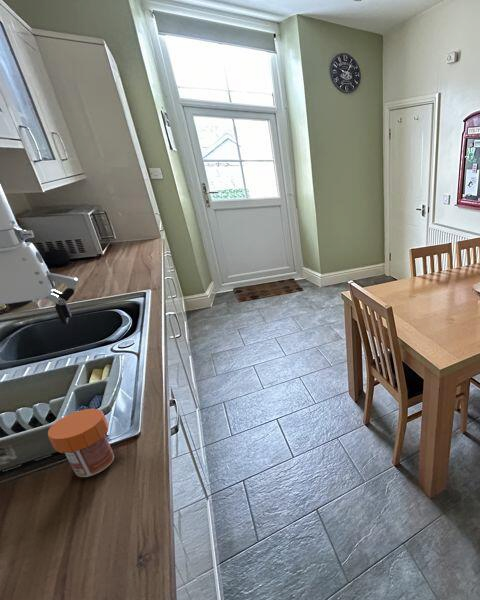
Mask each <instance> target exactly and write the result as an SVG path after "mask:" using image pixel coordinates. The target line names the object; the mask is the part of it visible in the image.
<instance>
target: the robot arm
mask: <svg viewBox="0 0 480 600" xmlns="http://www.w3.org/2000/svg"><path fill="white" fill-rule="evenodd" d="M32 238H33V239H34V238H35V234H34V232H33V230H32V229H23V228H21V226H20V225H18V223H17V219H16V217H15V215H14V213H13V210H12V208H11V205H10V203H9V202H8V199H7V196H6V193H5V192H4V189H3V187H2V184H1V183H0V306H2V305H8V304H9V305H10V304H15V303H17V304H18V303H23V302H29V301H35V300H41V299H46V300H48V301H51V302H53V303H54V304H55V306H54V308H55V311H56V313H57V316H58V318H59V320H60V323H61V324H62V325H67V324H68V323H69V320H70V318H72V316H73V315H72V312H71V310H70V308H69V305H68V301H69V300H70V298H71V297H72V296H73V295H74V294H75V291H76V288H77V286H78V282H79V279H78V278H77V277H74V276H68V275H65V274H59V273H53V272H50V270H49V268H48V265H47V264H46V263H45V261H44V259H43V257H42V255H41V254H40V252H39V250H38V249H37V247H36V246H35V245H34V244H33V242H30V241H27V242H26V240H28V239H32ZM55 283H59V284H65V285H66V289H64V291H63V292H60V291H58V290H56V289H55V288H56V284H55Z"/></svg>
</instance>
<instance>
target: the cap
mask: <svg viewBox="0 0 480 600" xmlns="http://www.w3.org/2000/svg"><path fill="white" fill-rule="evenodd" d="M108 432H109V422H108V420H107V418H106V416H105V414H104V412H103V411H102V410H101V409H98V408H85V409H79V410H77V411H75V412H72V413H69V414H67V415H65V416H63V417H61V418H59V419H58V420H57V421H55V422H54V423H53V424H52V425H51V426H50V427H49V429H48V431H47V437H48V440H49V442H50V443H51V445H52V447H53V449H54V450H55V451H56V452H58V453H60V454H65V453H69V452H75V451H78V450H81V449H84V448H87V447H89V446H91V445H92V444H94V443H95V442H97V441H99V440H100V439H101V438H102V437H103V436H104V435H106V434H107V433H108Z"/></svg>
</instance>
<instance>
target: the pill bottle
mask: <svg viewBox="0 0 480 600" xmlns="http://www.w3.org/2000/svg"><path fill="white" fill-rule="evenodd" d="M64 455H65V456H66V459H67V460H68V462H69V464H70V466H71V468H72V470H73V471H74V474H75V475H76V476H77V477H79V478H89V477H93V476H95V475H97V474H99V473H101V472H103V471H104V470H106V469H107V468H108V467H109V466H110V465H112V463H113V461H114V459H115V454H114V451H113V449H112V447H111V445H110V442H109V440H108V438H107V435H106V434H105V435H104V436H103V437H102V438H101V439H100V440H99V441H97V442H95V443H94V444H92V445H91V446H89V447H87V448H84V449H81V450H78V451H75V452H69V453H64Z"/></svg>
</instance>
